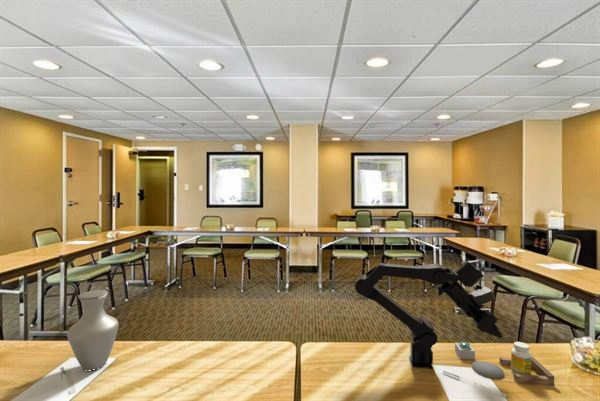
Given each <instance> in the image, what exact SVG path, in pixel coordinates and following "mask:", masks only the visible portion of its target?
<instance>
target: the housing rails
mask: <svg viewBox="0 0 600 401" xmlns="http://www.w3.org/2000/svg"><path fill="white" fill-rule="evenodd" d="M498 363H499V364H500V366H505V367H511V357H502V356H501V357H499V362H498ZM531 371H533V372H534V373H535V375H534V374H531V375H526V374H515V373H513V381H514V382H515V383H517V384H527V385H528V384H529V385H541V386H550V387H555V375H553V374H552V373H551V372H550V371H549V369H547V368H546V367H545V366H544V365H543V364H541V362H539V361H538V360H537V359H536V358H535V357H534V356H532V357H531Z"/></svg>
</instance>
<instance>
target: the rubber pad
mask: <svg viewBox="0 0 600 401" xmlns="http://www.w3.org/2000/svg"><path fill="white" fill-rule="evenodd" d="M471 369H472V370H473V371H474V372H475V373H476V374H478V375H479V376H482V377H485V378H488V379H494V380H495V379H496V380H497V379H499V380H500V379H502V378H503V377H505V372H504V370H503V369H502V368H501V367H499V366H498V365H496V364H494V363H492V362H489V361H488V362H487V361H484V360H483V361H482V360H481V361H480V360H479V361H478V360H476V361H473V362H472V363H471Z"/></svg>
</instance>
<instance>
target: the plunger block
mask: <svg viewBox="0 0 600 401" xmlns="http://www.w3.org/2000/svg"><path fill="white" fill-rule="evenodd" d="M454 351H455V353H456V355H457V357H458V358H459V359H466V360H467V359H468V360H469V359H470V360H476V350H475V349H474V347H473V346H472V345H471V344H470V347H469V349H461V346H460V342H459V343H458V342H455V344H454Z"/></svg>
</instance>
